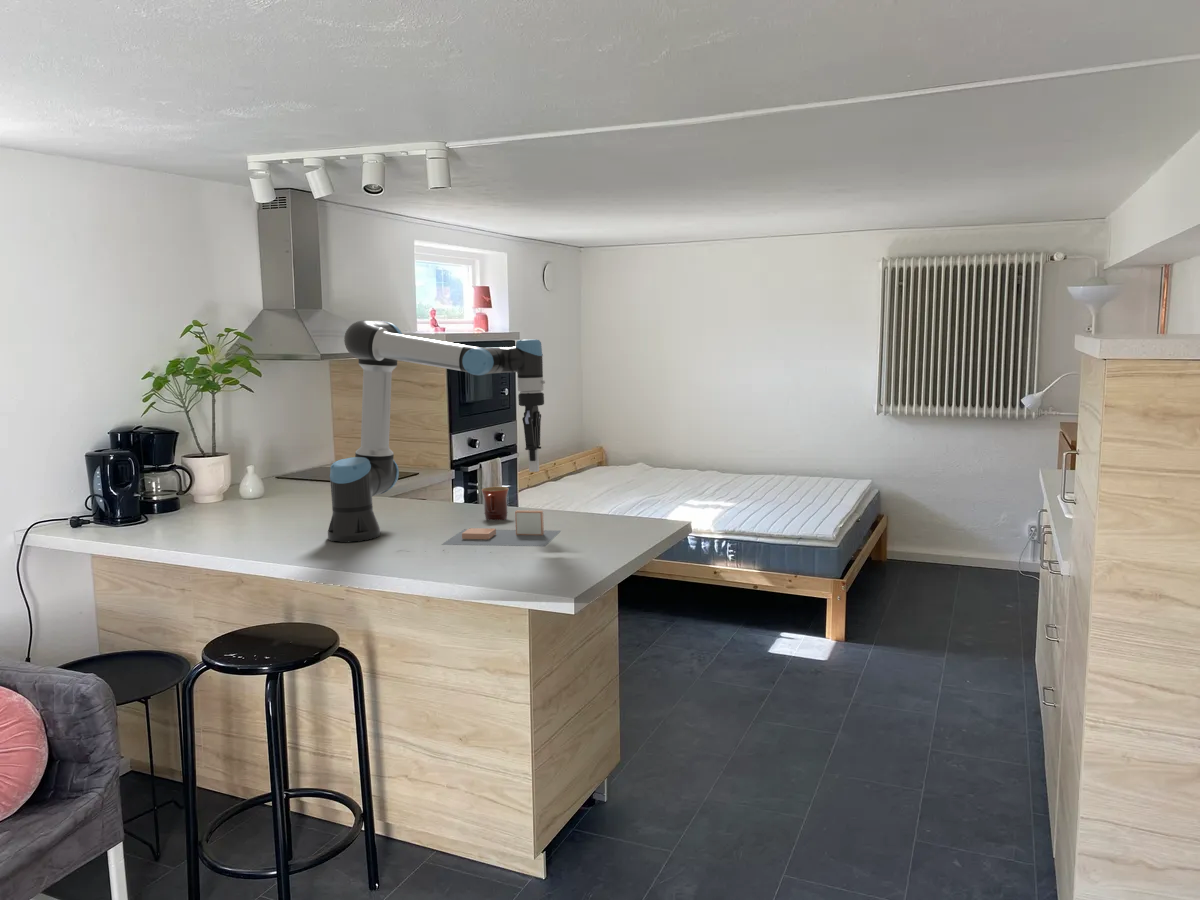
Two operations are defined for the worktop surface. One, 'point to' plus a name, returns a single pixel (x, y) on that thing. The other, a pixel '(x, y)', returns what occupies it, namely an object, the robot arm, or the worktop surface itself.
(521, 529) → the tile
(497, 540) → the mat
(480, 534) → the tile
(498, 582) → the worktop surface
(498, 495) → the mug
